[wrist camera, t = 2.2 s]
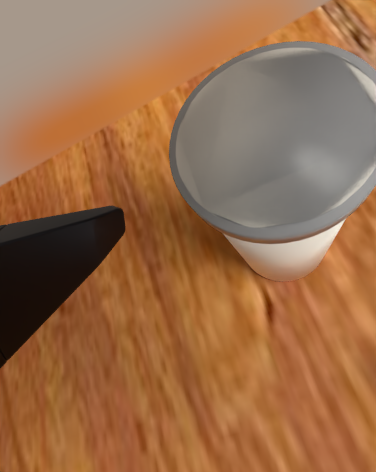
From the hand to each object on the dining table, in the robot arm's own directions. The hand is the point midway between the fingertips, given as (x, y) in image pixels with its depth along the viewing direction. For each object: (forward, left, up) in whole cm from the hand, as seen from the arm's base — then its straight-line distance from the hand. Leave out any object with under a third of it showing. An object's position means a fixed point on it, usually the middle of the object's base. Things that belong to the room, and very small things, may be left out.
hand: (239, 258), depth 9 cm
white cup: (+3, +2, -10) cm, 11 cm away
